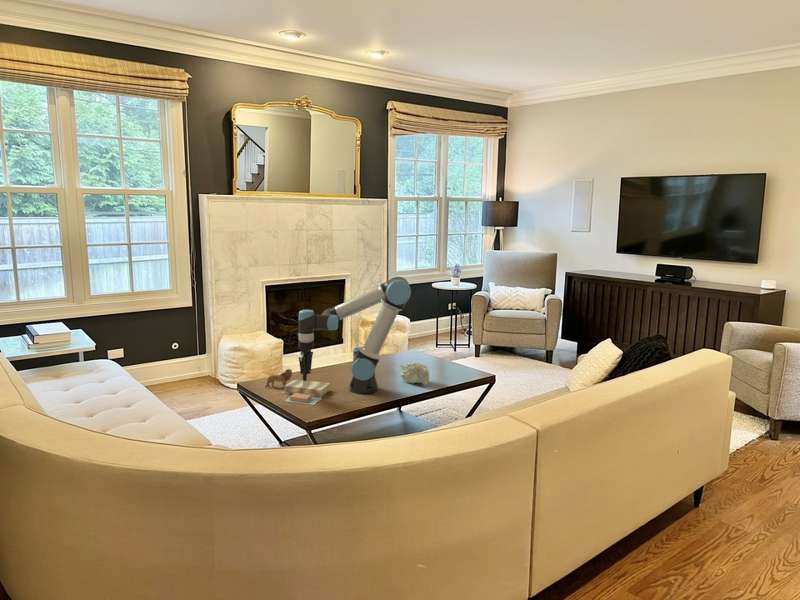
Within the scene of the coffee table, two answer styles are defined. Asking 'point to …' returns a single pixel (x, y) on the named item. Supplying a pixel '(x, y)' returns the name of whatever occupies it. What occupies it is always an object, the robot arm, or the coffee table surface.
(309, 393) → the plate
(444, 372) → the coffee table surface
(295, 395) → the tile
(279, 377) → the lion figurine
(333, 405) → the coffee table surface
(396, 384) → the coffee table surface
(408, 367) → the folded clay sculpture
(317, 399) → the mat
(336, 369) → the coffee table surface
